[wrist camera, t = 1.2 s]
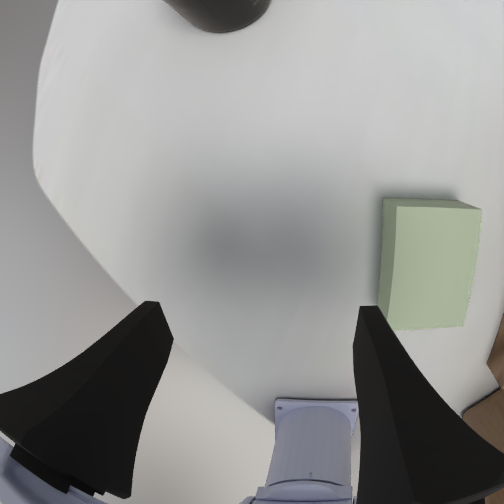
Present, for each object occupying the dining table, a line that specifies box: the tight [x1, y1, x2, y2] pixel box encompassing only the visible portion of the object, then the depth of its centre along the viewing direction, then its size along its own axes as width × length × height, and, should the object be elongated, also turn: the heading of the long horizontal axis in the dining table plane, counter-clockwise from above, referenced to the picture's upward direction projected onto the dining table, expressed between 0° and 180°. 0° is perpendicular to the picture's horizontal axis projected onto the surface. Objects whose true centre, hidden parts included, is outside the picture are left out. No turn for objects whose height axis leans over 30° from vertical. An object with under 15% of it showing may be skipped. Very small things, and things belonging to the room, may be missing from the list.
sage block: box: [377, 198, 482, 331], centre depth 17 cm, size 8×6×4 cm
